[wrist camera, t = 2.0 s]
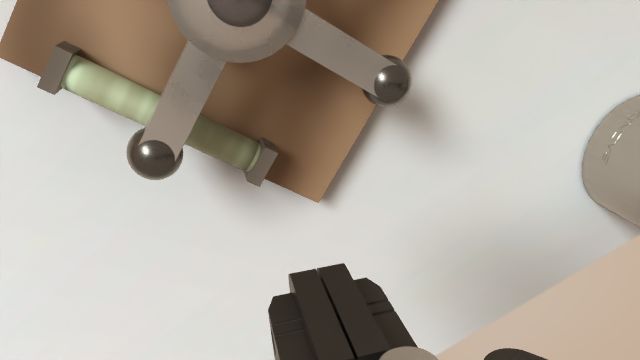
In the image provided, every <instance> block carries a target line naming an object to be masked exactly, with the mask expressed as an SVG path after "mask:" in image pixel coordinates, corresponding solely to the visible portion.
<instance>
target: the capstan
mask: <svg viewBox="0 0 640 360" xmlns="http://www.w3.org/2000/svg"><path fill="white" fill-rule="evenodd" d="M167 2H168V5H169V9H170V12H171V14H172V17H173V19H174V21H175V23H176V24H177V26H178V28H179V29H180V31H181V32H182V33H183V35H184V36H185V37H186V38H187V39H188V41H187V43H186V45H185V47H184V49H183V51H182V53H181V55H180V57H179V59H178V61H177V63H176V65H175V67H174V69H173V71H172V73H171V76H170V78H169V80H168V82H167V84H166V86H165V88H164V90H163V92H162V94H161V96H160V98H159V100H158V102H157V104H156V106H155V108H154V110H153V112H152V114H151V116H150V118H149V120H148V122H147V124H146V127H145V128H143V129H141V130H139V131H138V132H136V133H135V134H134V135H133V136H132V138H131V139H130V141H129V143H128V146H127V159H128V162H129V164H130V166H131V168H132V169H133V170H134V171H135V172H136V173H137V174H138V175H140V176H142V177H144V178H146V179H150V180H160V179H164V178H167V177H169V176H171V175H172V174H174V173H175V172H176V171H177V169H178V168H179V167H180V165H181V163H182V159H183V148H182V147H183V145H184V143H185V141H186V139H187V137H188V136H189V134H190V132H191V130H192V128H193V126H194V124H195V122H196V120H197V118H198V116H199V114H200V112H201V110H202V108H203V106H204V104H205V102H206V100H207V98H208V96H209V95H210V93H211V91H212V89H213V87H214V85H215V83H216V81H217V79H218V77H219V75H220V73H221V71H222V69H223V67H224V65H225V63H226V61H227V62H233V63H246V62H253V61H258V60H261V59H263V58H266V57H268V56H270V55H272V54H274V53H275V52H277V51H278V50H280V49H281V48H282V47H283V46H284V45H285V44H287V45H288V46H290V47H292V48H293V49H295V50H297V51H299V52H300V53H302V54H304V55H306V56H307V57H309V58H311V59H312V60H314V61H316V62H318V63H319V64H321V65H323V66H324V67H326V68H328V69H330V70H331V71H333V72H335V73H337V74H338V75H340V76H342V77H343V78H345V79H347V80H349V81H350V82H352V83H354V84H356V85H357V86H359V87H361V89H362V92H363V94H364V96H365V97H366V98H367V99H368V100H369V101H370V102H372V103H373V104H375V105H378V106H384V107H387V106H392V105H395V104H397V103H399V102H400V101H402V100H403V99H404V98H405V97H406V95H407V94H408V92H409V90H410V87H411V73H410V70H409V68H408V66H407V65H406V64H405V63H404V62H403V61H402V60H401V59H400V58H398V57H396V56H392V55H380V54H378V53H376V52H375V51H373V50H372V49H370V48H368V47H367V46H365V45H364V44H362V43H360V42H359V41H357V40H356V39H354V38H352V37H351V36H349V35H347V34H346V33H344V32H343V31H341V30H339V29H338V28H336V27H335V26H333V25H331V24H330V23H328V22H327V21H325V20H323V19H322V18H320V17H318V16H317V15H315V14H314V13H312V12H310V11H309V10H307V9H306V8H305V6H306V0H167Z"/></svg>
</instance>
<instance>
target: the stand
mask: <svg viewBox="0 0 640 360" xmlns="http://www.w3.org/2000/svg"><path fill="white" fill-rule="evenodd" d="M438 1H439V0H306V6H305V8H306V9H307V10H309V11H310V12H312V13H314V14H315V15H317V16H318V17H320V18H322V19H323V20H325V21H327V22H328V23H330V24H331V25H333V26H335V27H336V28H338V29H339V30H341V31H343V32H344V33H346V34H347V35H349V36H351V37H352V38H354V39H356V40H357V41H359V42H360V43H362V44H364V45H365V46H367V47H368V48H370V49H372V50H373V51H375V52H376V53H378V54H380V55H392V56H396V57H398V58H400V59H401V60H402V61H403V60H404V58H405V56H406V54H407V53H408V51H409V49H410V48H411V46H412V44H413V43H414V41H415V39H416V38H417V36H418V34H419V33H420V31H421V29H422V28H423V26H424V24H425V22H426V21H427V19H428V17H429V16H430V14H431V12H432V11H433V9H434V7H435V6H436V4H437V2H438ZM187 41H188V39H187V38H186V37H185V36H184V35H183V33H182V32H181V31H180V29H179V28H178V26H177V24H176V23H175V21H174V19H173V17H172V14H171V12H170V9H169V5H168V2H167V0H17V2H16V5H15V7H14V10H13V12H12V15H11V17H10V20H9V22H8V25H7V27H6V30H5V32H4V35H3V37H2V39H1V42H0V58H2V59H4V60H6V61H8V62H11V63H13V64H15V65H17V66H19V67H22V68H24V69H26V70H28V71H30V72H32V73H35V74H37V75H39V76H41V79H40V81H39V84H38V86H37V87H38V88H40V89H42V90H45V91H47V92H49V93H51V94H54V95H55V94H56V93H57V92H58V91H59V90H61V89H62V88H64V89H66V90H68V91H70V92H72V93H74V94H77V95H79V96H81V97H83V98H85V99H88V100H90V101H92V102H94V103H96V104H99V105H101V106H103V107H105V108H107V109H110V110H112V111H114V112H116V113H118V114H121V115H123V116H125V117H127V118H129V119H132V120H134V121H136V122H138V123H140V124H143V125H145V126H146V124H147V122H148V120H149V118H150V116H151V114H152V112H153V110H154V108H155V106H156V104H157V102H158V100H159V98H160V96H161V94H162V92H163V90H164V88H165V86H166V84H167V82H168V80H169V78H170V76H171V73H172V71H173V69H174V67H175V65H176V63H177V61H178V59H179V57H180V55H181V53H182V51H183V49H184V47H185V45H186V43H187ZM375 107H376V105H375V104H373V103H372V102H370V101H369V100H368V99H367V98H366V97H365V96H364V94H363V92H362V89H361V87H359V86H357V85H356V84H354V83H352V82H350V81H349V80H347V79H345V78H343V77H342V76H340V75H338V74H337V73H335V72H333V71H331V70H330V69H328V68H326V67H324V66H323V65H321V64H319V63H318V62H316V61H314V60H312V59H311V58H309V57H307V56H306V55H304V54H302V53H300V52H299V51H297V50H295V49H293V48H292V47H290V46H288V45H287V44H285V45H284V46H283V47H282V48H281V49H280V50H278V51H277V52H275V53H274V54H272V55H270V56H268V57H266V58H263V59H261V60H258V61H253V62H246V63H233V62H227V61H226V63H225V65H224V67H223V69H222V71H221V73H220V75H219V77H218V79H217V81H216V83H215V85H214V87H213V89H212V91H211V93H210V95H209V96H208V98H207V100H206V102H205V104H204V106H203V108H202V110H201V112H200V114H199V116H198V118H197V120H196V122H195V124H194V126H193V128H192V130H191V132H190V134H189V136H188V137H187V139H186V141H185V143H184V144H186V145H189V146H191V147H193V148H195V149H197V150H200V151H202V152H204V153H206V154H208V155H211V156H213V157H215V158H217V159H219V160H222V161H224V162H226V163H228V164H230V165H233V166H235V167H237V168H239V169H241V170H244V172H245V176H246V180H247V181H248V182H250V183H252V184H255V185H257V186H259V187H260V185H261V183H262V181H263V180H264V178H265V179H267V180H269V181H271V182H273V183H276V184H278V185H280V186H282V187H284V188H287V189H289V190H291V191H293V192H295V193H297V194H300V195H302V196H304V197H306V198H308V199H311V200H313V201H315V202H317V203H319V201H320V199H321V198H322V196H323V194H324V193H325V191H326V189H327V188H328V186H329V184H330V182H331V181H332V179H333V177H334V176H335V174H336V172H337V171H338V169H339V167H340V166H341V164H342V162H343V161H344V159H345V157H346V156H347V154H348V152H349V150H350V149H351V147H352V145H353V144H354V142H355V140H356V139H357V137H358V135H359V134H360V132H361V130H362V129H363V127H364V125H365V124H366V122H367V120H368V118H369V117H370V115H371V113H372V112H373V110H374V108H375Z"/></svg>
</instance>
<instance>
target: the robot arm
mask: <svg viewBox="0 0 640 360" xmlns="http://www.w3.org/2000/svg"><path fill="white" fill-rule="evenodd" d="M582 177H583V181H584V186H585V188H586V190H587V192H588V194H589V196H590V197H591V198H592V199H593V200H594V201H595V202H596V203H598V204H600V205H601V206H603V207H605V208H607V209H609V210H610V211H612V212H614V213H616V214H617V215H619V216H621V217H623V218H625V219H626V220H628V221H630V222H632V223H633V224H635V225H637V226H638V227H640V95H638V96H636V97H633V98H631V99H628V100H627V101H625V102H623V103H622V104H620V105H619V106H617V107H616V108H615V109H614V110H612V111H611V112H610V113H609V114H608V115H607V116H606V117H605V118H604V119H603V121H602V122H601V123H600V124H599V125H598V127H597V128H596V130H595V131H594V133H593V135H592V137H591V138H590V140H589V143H588V145H587V148H586V150H585V154H584V159H583V164H582ZM289 287H290V293H289V294H284V295H279V296H274V297H273V299H272V301H271V304H270V307H269V309H268V313H269V320H270V327H271V335H272V342H273V349H274V356H275V360H438V359H437V358H436V357H435V356H434V355H433V354H431V353H430V352H428V351H426V350H424V349H421V348H418V347H417V346H416V344H415V342H414V341H413V339H412V337H411V336H410V334H409V333H408V331H407V329H406V328H405V326H404V324H403V323H402V321H401V320H400V318H399V316H398V315H397V313H396V312H394V308H393V307H392V305H391V303H390V302H388V299H387V297H386V295H385V294H384V292H383V290H382V289H381V287H380V286H378V285H377V284H375V283H374V282H372V281H371V280H369V279H368V278H362V279H357V280H353V278H352V277H351V275H350V273H349V271H348V269H347V267H346V266H345V264H344V263H343V264H337V265H332V266H327V267H322V268H317V271H316V269H312V270H307V271H302V272H297V273H292V274H289ZM484 360H547V359H544V358H542V357H539V356H536V355H534V354H531V353H529V352H526V351H523V350H519V349H511V348H505V349H499V350H495V351H493V352H491V353H489V354H488V355H487V356H486V357H485V358H484Z"/></svg>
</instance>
